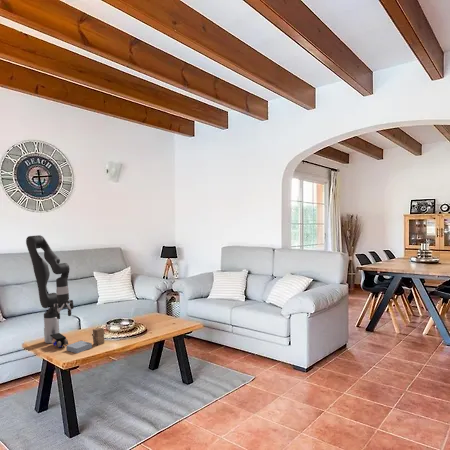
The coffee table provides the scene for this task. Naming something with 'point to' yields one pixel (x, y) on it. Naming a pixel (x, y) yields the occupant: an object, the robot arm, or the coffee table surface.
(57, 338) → the figurine character
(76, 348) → the blue-grey square slab
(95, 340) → the walnut block
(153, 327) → the coffee table surface
